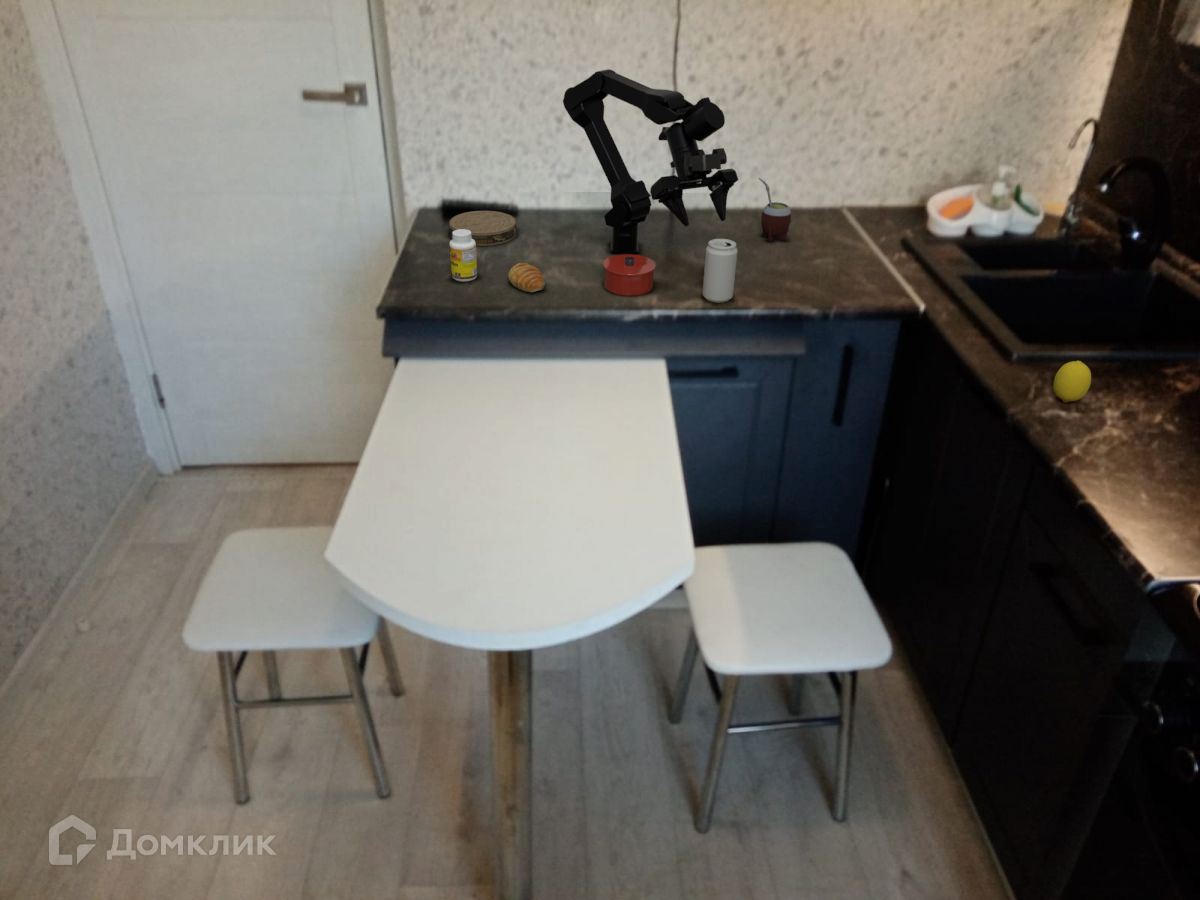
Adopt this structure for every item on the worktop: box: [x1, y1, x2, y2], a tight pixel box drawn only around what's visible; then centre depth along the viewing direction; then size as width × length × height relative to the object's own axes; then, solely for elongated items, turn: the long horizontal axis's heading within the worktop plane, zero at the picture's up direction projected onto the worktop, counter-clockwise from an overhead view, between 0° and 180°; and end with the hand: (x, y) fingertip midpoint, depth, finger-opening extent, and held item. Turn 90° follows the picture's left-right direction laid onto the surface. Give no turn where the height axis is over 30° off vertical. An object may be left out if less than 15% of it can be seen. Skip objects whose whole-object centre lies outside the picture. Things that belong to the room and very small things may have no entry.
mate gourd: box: [758, 177, 792, 243], centre depth 217 cm, size 8×8×15 cm
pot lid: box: [602, 253, 657, 276], centre depth 193 cm, size 11×11×2 cm
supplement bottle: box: [448, 229, 478, 283], centre depth 195 cm, size 6×6×10 cm
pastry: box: [507, 262, 546, 293], centre depth 193 cm, size 9×7×4 cm
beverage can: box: [701, 238, 739, 304], centre depth 188 cm, size 6×6×12 cm
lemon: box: [1052, 360, 1092, 403], centre depth 155 cm, size 6×6×8 cm
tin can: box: [449, 210, 517, 247], centre depth 219 cm, size 16×16×3 cm
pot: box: [603, 267, 655, 296], centre depth 194 cm, size 10×10×4 cm
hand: (705, 223), depth 189 cm, fingers open, 9 cm apart
